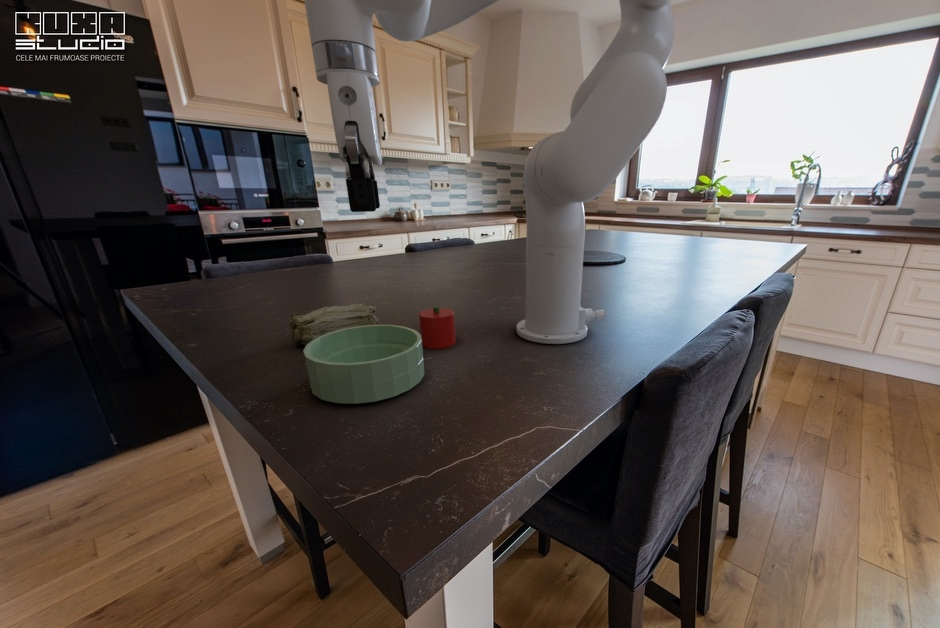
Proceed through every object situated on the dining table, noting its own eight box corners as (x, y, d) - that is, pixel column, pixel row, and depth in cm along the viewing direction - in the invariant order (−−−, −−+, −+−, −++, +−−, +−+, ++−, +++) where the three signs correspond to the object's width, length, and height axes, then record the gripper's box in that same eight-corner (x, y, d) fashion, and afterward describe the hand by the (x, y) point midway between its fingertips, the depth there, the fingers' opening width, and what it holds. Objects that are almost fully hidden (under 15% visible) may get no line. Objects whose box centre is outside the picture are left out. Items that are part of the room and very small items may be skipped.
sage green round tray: (422, 355, 61) (419, 321, 59) (427, 399, 48) (423, 357, 46) (322, 364, 57) (316, 329, 56) (299, 414, 45) (290, 370, 43)
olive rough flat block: (301, 356, 61) (294, 322, 59) (287, 339, 67) (280, 308, 66) (390, 335, 69) (387, 305, 67) (370, 322, 76) (366, 295, 74)
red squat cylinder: (453, 335, 69) (451, 301, 67) (457, 346, 64) (455, 310, 62) (420, 338, 68) (417, 303, 66) (422, 350, 63) (419, 312, 61)
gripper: (373, 48, 43) (392, 212, 49) (381, 86, 59) (394, 207, 65) (298, 43, 41) (328, 213, 48) (327, 83, 57) (346, 208, 63)
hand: (366, 209), depth 56 cm, fingers open, 9 cm apart
